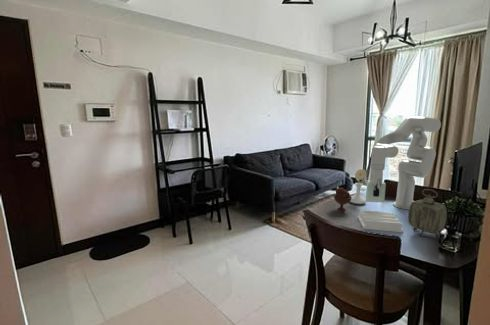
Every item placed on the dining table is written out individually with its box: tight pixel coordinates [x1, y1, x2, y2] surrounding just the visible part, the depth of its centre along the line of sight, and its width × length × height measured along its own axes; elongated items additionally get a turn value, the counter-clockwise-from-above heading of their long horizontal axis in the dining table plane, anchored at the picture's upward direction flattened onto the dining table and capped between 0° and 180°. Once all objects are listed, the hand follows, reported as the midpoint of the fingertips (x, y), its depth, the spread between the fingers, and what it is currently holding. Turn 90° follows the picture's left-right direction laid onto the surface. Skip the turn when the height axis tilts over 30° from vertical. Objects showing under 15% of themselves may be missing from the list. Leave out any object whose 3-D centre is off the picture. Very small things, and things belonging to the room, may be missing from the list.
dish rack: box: [357, 209, 404, 233], centre depth 149 cm, size 20×15×5 cm
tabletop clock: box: [407, 188, 448, 239], centre depth 134 cm, size 14×9×25 cm, turn 33°
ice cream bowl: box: [333, 187, 352, 213], centre depth 170 cm, size 11×11×15 cm
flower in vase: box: [349, 168, 367, 205], centre depth 182 cm, size 13×11×25 cm
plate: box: [365, 181, 387, 203], centre depth 161 cm, size 10×2×12 cm, turn 77°
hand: (375, 195), depth 162 cm, fingers closed on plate, 2 cm apart
